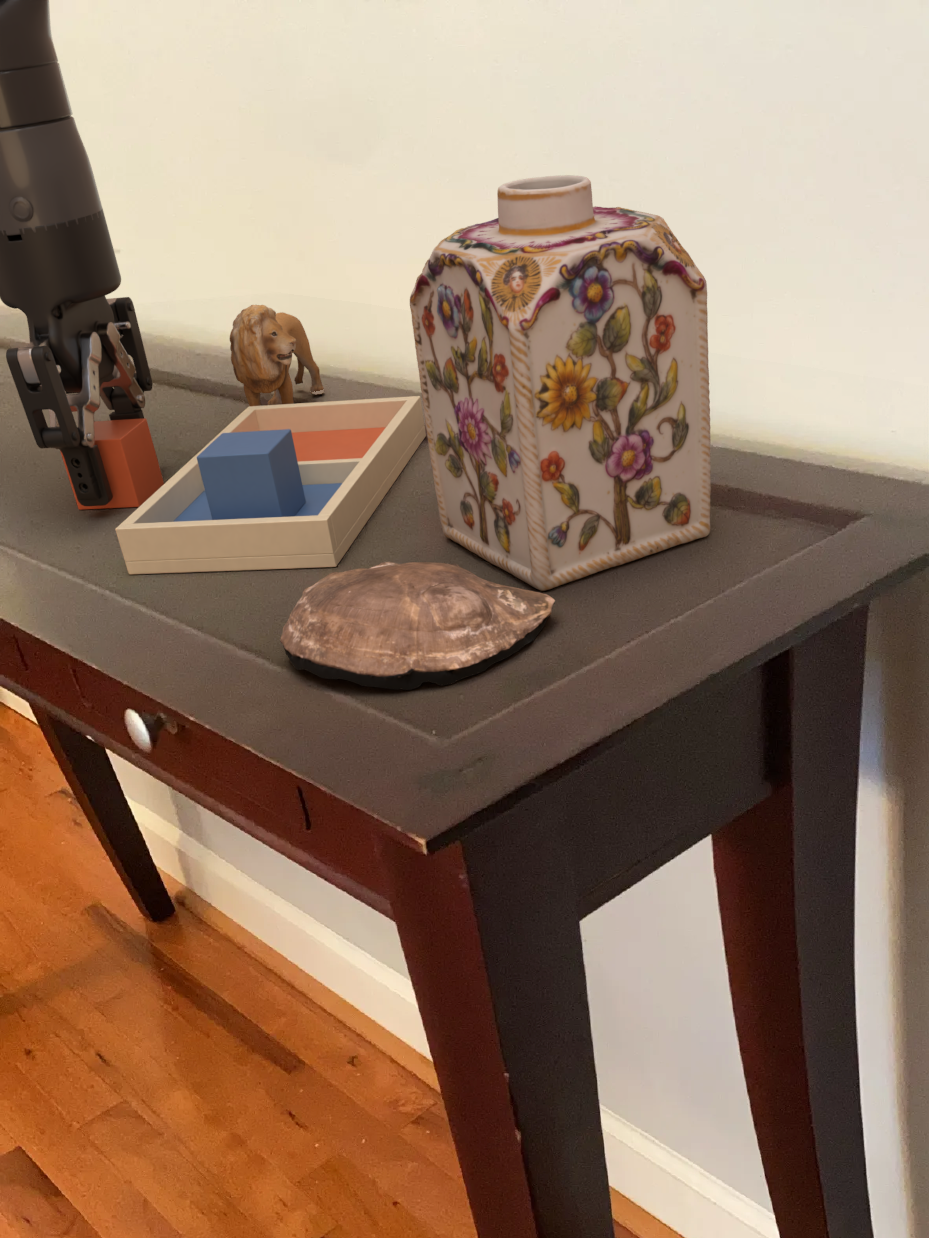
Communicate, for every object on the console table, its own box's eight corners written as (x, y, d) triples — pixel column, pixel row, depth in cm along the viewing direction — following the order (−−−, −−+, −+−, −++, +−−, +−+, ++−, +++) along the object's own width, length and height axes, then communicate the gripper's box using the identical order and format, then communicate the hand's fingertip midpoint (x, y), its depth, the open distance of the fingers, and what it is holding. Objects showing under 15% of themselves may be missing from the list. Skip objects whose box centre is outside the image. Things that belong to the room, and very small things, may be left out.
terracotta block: (78, 510, 87) (57, 442, 84) (105, 487, 90) (85, 421, 87) (139, 507, 86) (119, 439, 83) (164, 484, 89) (146, 417, 87)
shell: (436, 717, 58) (424, 644, 56) (237, 667, 64) (219, 600, 62) (572, 616, 65) (566, 547, 63) (382, 580, 71) (370, 517, 69)
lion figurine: (313, 439, 94) (287, 307, 89) (242, 447, 94) (211, 316, 89) (328, 385, 106) (306, 266, 100) (265, 393, 106) (240, 274, 101)
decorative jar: (437, 538, 76) (386, 192, 65) (601, 487, 80) (579, 154, 69) (540, 598, 67) (502, 212, 56) (718, 538, 71) (715, 167, 60)
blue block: (214, 531, 77) (195, 456, 75) (239, 505, 81) (221, 432, 78) (284, 528, 77) (268, 452, 74) (306, 501, 80) (291, 428, 77)
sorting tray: (128, 574, 76) (114, 528, 74) (257, 445, 94) (248, 406, 93) (336, 567, 74) (326, 519, 72) (426, 435, 92) (420, 395, 90)
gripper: (36, 197, 84) (111, 453, 94) (-78, 240, 73) (21, 525, 83) (141, 187, 82) (207, 448, 92) (42, 229, 71) (128, 520, 81)
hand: (119, 484), depth 87 cm, fingers open, 7 cm apart
